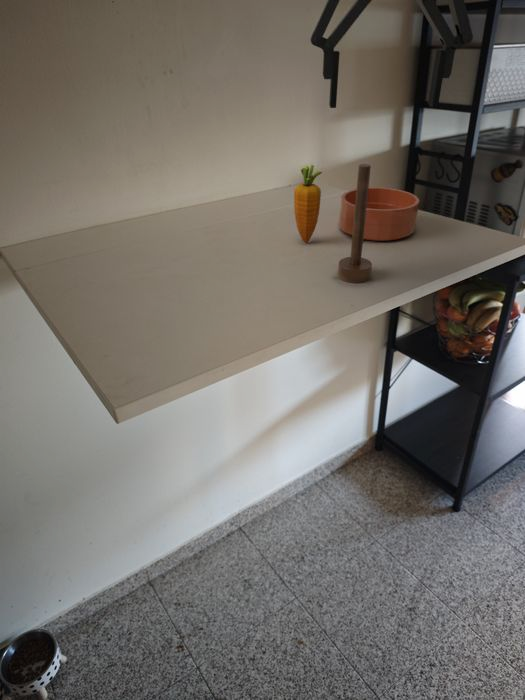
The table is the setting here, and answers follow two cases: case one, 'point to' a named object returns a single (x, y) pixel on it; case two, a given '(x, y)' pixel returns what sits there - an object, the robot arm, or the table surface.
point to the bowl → (381, 213)
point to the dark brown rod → (358, 235)
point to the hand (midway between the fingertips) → (382, 106)
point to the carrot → (307, 204)
